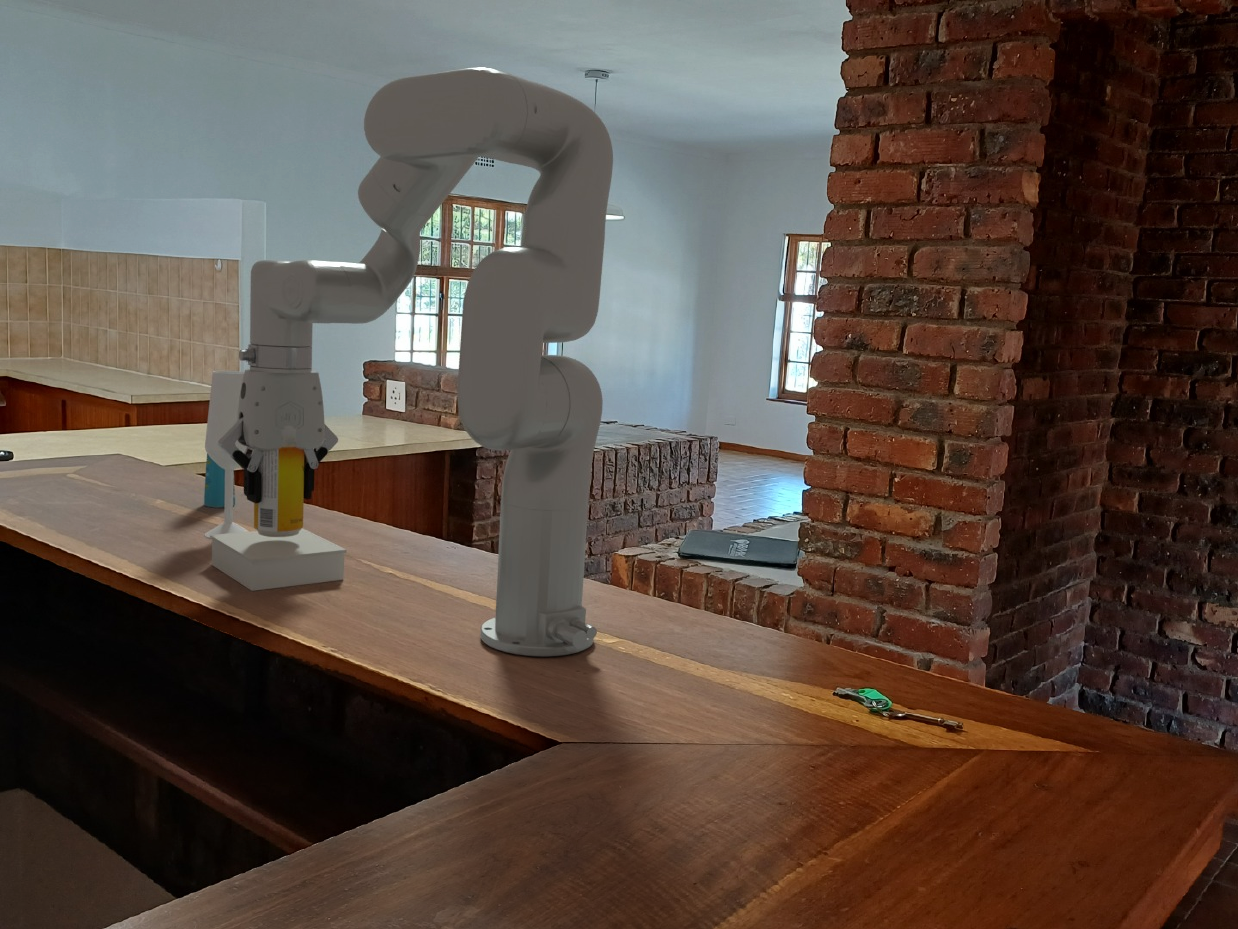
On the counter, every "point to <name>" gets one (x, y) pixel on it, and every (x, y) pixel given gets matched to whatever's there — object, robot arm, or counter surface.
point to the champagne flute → (218, 424)
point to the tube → (215, 485)
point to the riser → (277, 559)
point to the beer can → (281, 489)
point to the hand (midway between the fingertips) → (279, 498)
